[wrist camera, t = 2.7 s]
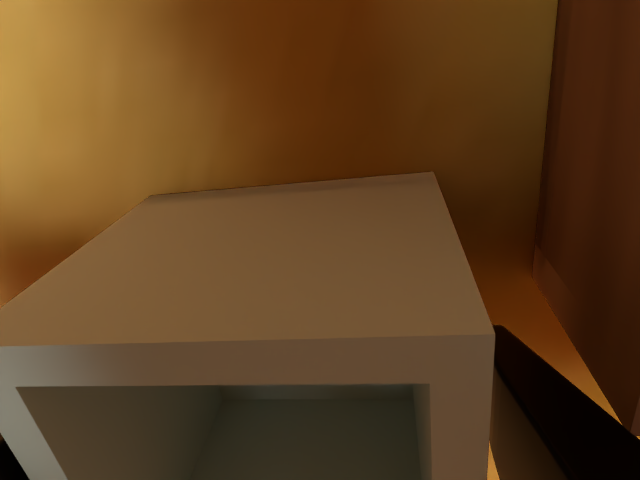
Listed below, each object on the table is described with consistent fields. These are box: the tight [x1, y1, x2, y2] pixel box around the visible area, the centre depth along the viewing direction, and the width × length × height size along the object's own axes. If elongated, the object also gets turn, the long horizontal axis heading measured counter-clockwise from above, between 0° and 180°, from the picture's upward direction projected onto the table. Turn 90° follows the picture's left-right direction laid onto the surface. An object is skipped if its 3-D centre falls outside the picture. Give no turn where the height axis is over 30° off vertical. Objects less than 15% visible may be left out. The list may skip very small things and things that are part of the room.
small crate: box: [0, 172, 495, 480], centre depth 8 cm, size 6×6×5 cm
